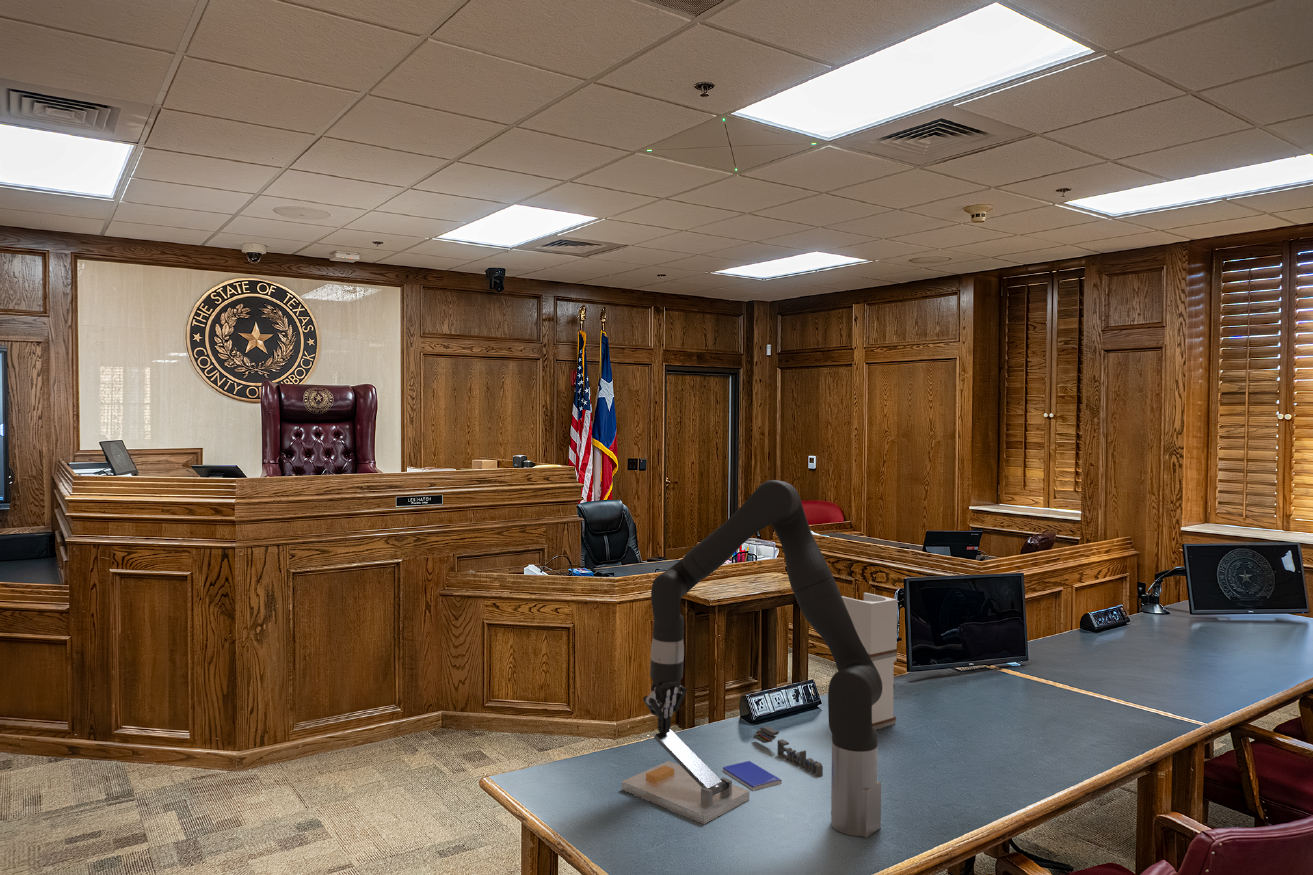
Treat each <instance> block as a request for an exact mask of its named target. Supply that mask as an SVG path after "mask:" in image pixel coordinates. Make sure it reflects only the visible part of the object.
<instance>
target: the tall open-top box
mask: <svg viewBox="0 0 1313 875" xmlns="http://www.w3.org/2000/svg"><path fill="white" fill-rule="evenodd" d="M841 596H842V599H843V601H844V604H845V606H846V608H847V610H848V613H849V615H850V617H851V620H852V622H853V624H854V627H855V629H856V632H857V634H858V636H859V638H860V640H861V642H862V644H863V646H864V647H865V649H866V651H867V653H868V655H869V656H870V658H871V660H872V662H873V663H874V665H875V667H876V669H877V671H878V673H879V675H880V677H881V680H882V688H883V689H882V694H881V697H880V698H879V700H878V701H877V702H876V703H875V704H874V705H872V728H874V729H875V730H876V729H878V730H880V729H883V727H884V728H887V726H888V727H891V726H894V724H895V723H896V724H897V717H896V716H895V715H894V683H895V682H894V680H895V679H894V674H895V673H894V670H895V669H894V668H895V666H894V664H895V663H894V662H897V654H898V653H897V652H898V650H897V649H898V648H897V646H898V645H897V643H898V641H897V640H898V599H896V598H893V597H888V596H883V595H878V594H873V593H870V592H863V600H860V599H855V598H853V597H847V596H843V595H841ZM896 724H895V725H896ZM890 725H891V726H890ZM876 731H877V730H876Z"/></svg>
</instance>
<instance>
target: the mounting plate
mask: <svg viewBox="0 0 1313 875" xmlns="http://www.w3.org/2000/svg"><path fill="white" fill-rule="evenodd" d="M719 779H720V780H721V781H724V782H725V783H726V785H727V789H726V790H724V791H722V792H720V793H718V794H716V795H714V796H713V790H710V789H708V788H705V787H703V788H702V787H701V786H700V785H699V784H698V783H697V782H696V781H695V780H694V779H693V778H692V777H691V776H690V775H689V774H688V773H687V772H686V771H685V770H684V769H683V768H682V767H681V765H680V764H679V763H677V762H676V763H675V762H672V761H671V760H667V761H665V762H662V763H661V764H658V765H656V766H654V767H652V768H649V769H647V770H644V771H642V772H640V773H638V774H635V775H633V776H631V777H628V778H627V779H625V780H622V781H621V791H623V790H624V791H623V792H625V791H626V792H625V793H628V792H629V793H628V794H630V793H632V794H634V795H633V796H635V795H636V796H635V797H637V796H638V797H637V798H639V797H641V798H640V799H642V800H644V799H646V800H645V801H647V802H649V801H651V802H652V803H651V802H650V803H651V804H654V803H656V804H657V805H656V804H655V805H656V806H658V805H660V806H659V807H661V806H662V807H661V808H663V807H665V808H667V809H666V810H668V809H670V810H672V811H671V812H673V811H674V812H673V813H675V812H676V813H675V814H677V813H678V815H680V814H682V815H683V816H682V815H681V816H682V817H684V816H686V817H685V818H687V817H688V818H687V819H689V818H690V820H692V821H694V820H695V821H694V822H696V821H697V822H696V823H699V822H700V823H699V824H701V825H706V824H708V823H709V821H710V822H712V821H713V820H715V819H717V818H718V816H719V817H720V816H722V815H724V814H726V813H728V812H730V811H732V810H733V809H735V808H738V807H739V806H741V805H743V804H745V803H746V802H748V801H750V790H748V789H746V788H744V787H740V786H738V785H735V784H733V781H732V780H731V779H729V778H726V777H722V778H719ZM632 794H631V795H632ZM665 808H664V809H665ZM670 810H669V811H670ZM711 820H712V821H711ZM707 822H708V823H707Z"/></svg>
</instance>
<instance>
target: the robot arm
mask: <svg viewBox="0 0 1313 875" xmlns="http://www.w3.org/2000/svg"><path fill="white" fill-rule="evenodd" d="M801 499H802V498H801V497H800V495H799V492H798V490H797V489H796V487H794V486H793V485H792V484H791V483H788V481H783V480H778V479H771V480H766V481H765V482H762V483H761V484H760V485H759V486H758V487H757V488H756V489H755V490H754V492H752V493H751V495H750V496H749V497H748V498H747V499H746V501H744V503H743V504H742V505H741V506H740V507H739V508H738V509H737V510H736V511H735V512H734V513H733V514H732V515H731V516H730V517H729V518H728V519H727V520H725V522H724V523H722V524H721V525H719V527H717V528H716V529H715V530H713V531H712V532H711V533H710V534H708V535H707V536H706V537H705V538H703V539H702V540H701V541H699V542H698V543H697V544H696V545H695V546H694V547H692V548H691V549H690V550H689V551H688V552H686V553H685V555H684V556H683V557H682V558H681V559H680V560H679V561H677V562H676V563H675V564H673V565H672V566H671V567H669V568H667V569H666V570H665V571H663V572H662V573H660V574H658V575H657V576H656V577H655V578H654V579H653V582H652V585H651V590H650V599H651V608H652V609H651V610H652V615H653V624H652V641H651V646H650V647H651V648H650V649H651V650H650V668H649V677H650V678H651V681H652V684H651V687H650V691H651V692H650V693H649V694H648V696H647V695H644V696H643V698H642V699H643V702H644V704H645V705H646V707H647V708H648V709H649V711H650V714H651V715H653V716H656V717H657V731H658V733H660V732H661V733H663V734H666V733H668V732H669V731H670V729H671V723H672V717H673V716H674V715H673V714H674V713H677V712H678V710H679V708H680V707H681V705H682V702H683V700H684V697H685V695H686V694H687V691H688V689H687V687H684V686H683V685H681V681H682V679H683V677H684V676H683V675H684V660H685V659H684V658H685V657H684V656H685V644H684V632H685V631H684V629H685V628H684V627H685V623H684V622H685V621H684V616H683V614H681V599H682V597H684V596H685V595H686V594H687V593H688V592H690V591H691V590H692V589H693V588H694V587H695V586H696V585H698V584H699V583H700V582H701V581H702V580H705V578H708V577H709V576H710V575H712V574H713V573H714V572H715V571H717V570H718V569H719V568H721V566H723V565H724V564H725V563H726V562H727V561H729V559H730V558H731V557H732V556H733V555H735V553H736V552H737V551H738V550H739V549H740V548H741V547H742V545H743V544H744V543H746V542H747V541H748V540H749V539H750V538H752V537H753V536H754V535H756V534H757V533H758V532H760V531H762V530H763V529H765V528H767V527H768V526H770V525H771V526H772V528H773V530H774V532H775V534H776V536H777V539H778V540H779V543H780V545H781V548H782V551H783V556H784V560H785V567H786V572H787V576H788V581H789V584H790V588H791V590H792V593H793V595H794V598H795V600H796V602H797V604H798V607H799V609H800V611H801V613H802V615H803V617H804V618H805V620H806V621H807V622H808V623H809V625H810V626H811V627H812V629H814V630H815V631H816V632H817V634H818V635H819V636H820V637H821V638H822V640H823V641H824V642H825V644H826V646H827V647H828V649H829V652H830V653H831V655H832V657H833V660H834V662H835V663H834V664H835V666H836V669H837V672H836V673H834V674H833V675H832V676H831V678H830V680H829V684H828V689H827V690H828V693H827V704H828V706H827V708H828V710H827V711H828V712H827V713H828V714H827V715H828V727H829V730H830V733H831V780H830V781H831V783H830V784H831V787H830V788H831V793H830V794H831V797H830V799H831V800H830V801H831V803H830V805H831V806H830V807H831V808H830V815H831V816H830V817H831V818H830V824H831V826H832V827H833V829H835V830H836V831H838V832H840V833H843V834H844V835H848V836H856V837H857V836H858V837H863V838H869V837H870V836H871V835H872V834H874V833H875V832H877V831H878V830H880V829H881V826H882V823H881V821H882V816H881V815H882V783H881V781H879V780H878V746H879V744H878V740H879V739H878V735H879V734H878V732H877V730H875V729H874V728H872V705H874V704H875V703H876V702H877V701H878V700H879V698H880V697H881V694H882V689H883V688H882V680H881V677H880V675H879V673H878V671H877V669H876V667H875V665H874V663H873V662H872V660H871V658H870V656H869V655H868V653H867V651H866V649H865V647H864V646H863V644H862V642H861V640H860V638H859V636H858V634H857V632H856V629H855V627H854V624H853V622H852V620H851V617H850V615H849V613H848V610H847V608H846V606H845V604H844V601H843V599H842V596H843V595H842V594H841V592H840V589H839V587H838V585H837V582H836V580H835V577H834V576H833V573H832V572H831V569H830V567H829V565H828V563H827V561H826V559H825V557H824V555H823V553H822V551H821V549H820V547H819V545H818V543H817V541H816V539H815V538H814V535H813V533H812V531H811V528H810V526H809V525H810V524H809V522H808V519H807V516H806V512H805V509H804V506H803V503H802V500H801Z"/></svg>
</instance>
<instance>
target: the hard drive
mask: <svg viewBox="0 0 1313 875" xmlns="http://www.w3.org/2000/svg"><path fill="white" fill-rule="evenodd" d="M722 772H724V773H725V774H726V775H728V776H730V777H731V778H733V779H735V780H736V781H737V780H738V782H739V781H740V782H739V783H740V784H743V785H744V786H746V788H748V787H749V788H748V789H750V790H752V791H753V790H754V791H758V790H761V788H762V789H764V788H769V786H770V787H772V786H777V785H781V784H783V782H782V781H783V780H782V779H781V778H780V777H778V776H775V775H774V774H772V773H770V772H769V771H767V770H766V769H764V768H762V767H761V766H759V765H757V764H755V763H754V762H752V761H750V760H749V761H748V760H747V761H743V762H738V763H734V764H730V765H727V766H723V767H722Z"/></svg>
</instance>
